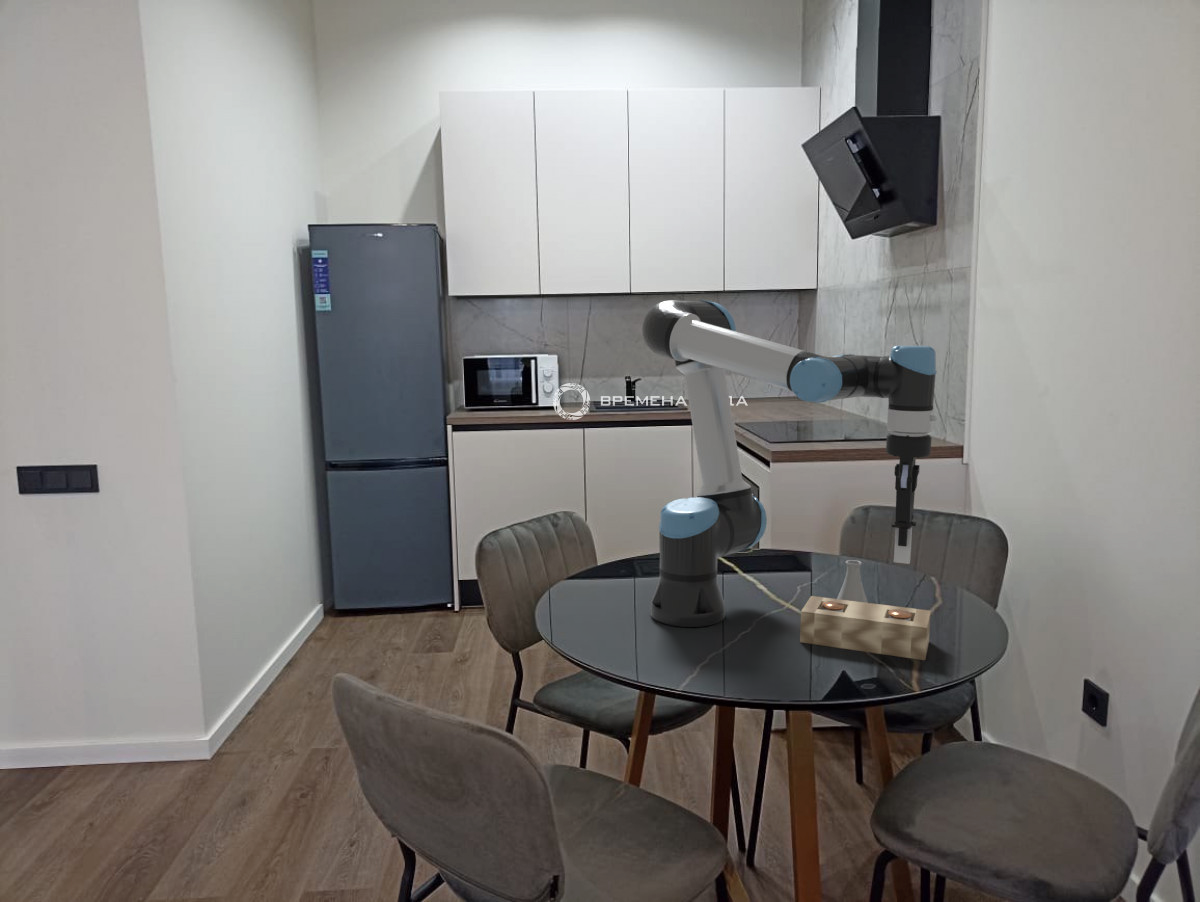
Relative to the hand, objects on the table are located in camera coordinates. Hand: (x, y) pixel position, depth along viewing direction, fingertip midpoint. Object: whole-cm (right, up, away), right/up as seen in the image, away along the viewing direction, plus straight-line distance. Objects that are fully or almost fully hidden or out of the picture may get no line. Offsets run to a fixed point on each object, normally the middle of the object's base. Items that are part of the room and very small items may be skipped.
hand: (901, 561), depth 158 cm
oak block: (-5, -16, +5) cm, 17 cm away
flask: (-2, -13, +24) cm, 27 cm away
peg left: (-11, -15, +7) cm, 20 cm away
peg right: (0, -15, +2) cm, 16 cm away
